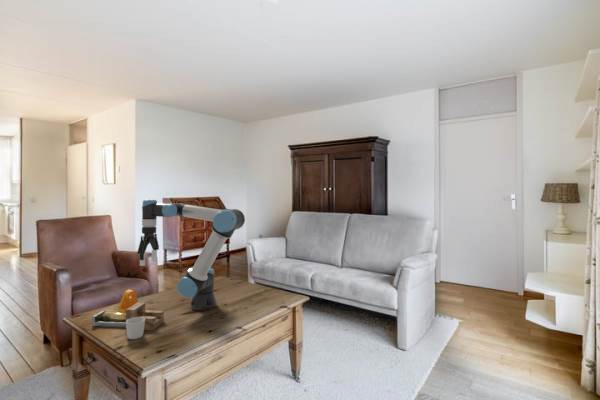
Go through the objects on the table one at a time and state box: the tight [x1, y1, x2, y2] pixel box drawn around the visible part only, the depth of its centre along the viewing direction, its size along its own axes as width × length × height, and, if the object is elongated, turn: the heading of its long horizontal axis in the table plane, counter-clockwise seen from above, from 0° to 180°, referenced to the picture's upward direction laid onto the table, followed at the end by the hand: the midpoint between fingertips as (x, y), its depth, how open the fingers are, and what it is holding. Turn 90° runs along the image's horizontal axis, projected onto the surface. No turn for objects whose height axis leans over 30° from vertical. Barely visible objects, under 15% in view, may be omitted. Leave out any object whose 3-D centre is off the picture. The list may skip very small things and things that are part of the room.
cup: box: [125, 317, 145, 340], centre depth 152 cm, size 11×8×8 cm
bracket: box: [117, 289, 139, 313], centre depth 182 cm, size 11×7×12 cm, turn 141°
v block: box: [91, 310, 126, 329], centre depth 165 cm, size 17×8×5 cm, turn 88°
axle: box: [102, 311, 126, 322], centre depth 166 cm, size 14×4×4 cm, turn 88°
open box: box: [126, 301, 165, 331], centre depth 165 cm, size 14×11×10 cm
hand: (148, 263), depth 187 cm, fingers open, 13 cm apart
